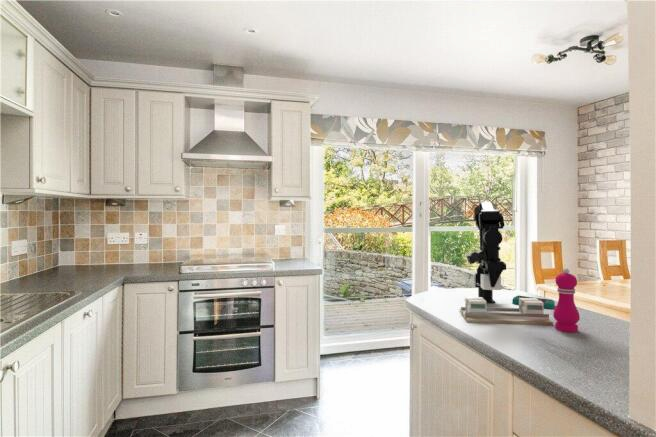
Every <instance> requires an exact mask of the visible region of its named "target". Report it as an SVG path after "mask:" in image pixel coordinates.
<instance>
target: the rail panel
mask: <svg viewBox="0 0 656 437" xmlns="http://www.w3.org/2000/svg"><path fill="white" fill-rule="evenodd" d="M537 298H538V297H533V298H519V304H518V307H487V304H488V303H486V300H484V299H483V298H482V297H478V296H465V300H464V301H465V306H460V308H459V313H460V314H461V316H462V317H463V319H464V320H465V321H466V322H467V323H481V324H482V323H483V324H486V323H487V324H488V323H491V324H515V325H516V324H517V325H518V324H520V325H521V324H523V325H524V324H526V325H554V321H553V320H551V319H550V314H548V313H544V311H545V310H544V309H545V308H544V303H543V302H542V301H540V300H538V299H537Z"/></svg>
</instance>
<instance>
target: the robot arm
mask: <svg viewBox="0 0 656 437" xmlns="http://www.w3.org/2000/svg"><path fill="white" fill-rule="evenodd" d="M473 221H475V226H476V227H477V229H478V231H479V250H475V251H473V252H469V253H467V254H465V257H466V260H467V262H468V264H469V265H473V264H475V263H477V264H478V267H477V268H476V273H475V272H474V287H475V288H478V289H477V291H478V294H477V297H482V298H483V299H484V300H486V304H488V303H489V304H490V303H492V304H493V303H496V301H495V300H494V298H493V294H494V292H493V291H494V290H483V289H482V288H481V274H489V279H490V284H491V287H495V285H496V283H497V281H498V279H499V277H500V276H502V275H501V274H502V273H503V272H504V271H507V264H506V263H505V262H504V261H503V260H501V258H500V251H501V246H500V245H501V243H502V242H503V235H502V233H501V232H500V231H499V230H502V229H504V227H505V220H504V216H503V214H502V213H501V212H500V210H499V209H496V208H495V207H494V206H493V202H492V201H480V202H478V205H477V206H475V207H474V209H473Z"/></svg>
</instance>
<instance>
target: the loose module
mask: <svg viewBox="0 0 656 437" xmlns="http://www.w3.org/2000/svg"><path fill="white" fill-rule="evenodd" d="M481 288H482V289H483V290H493V291H501V290H502V275H500V277H499V279H498V281H497V283H496V285H495V287H491V284H490V279H489V274H481Z"/></svg>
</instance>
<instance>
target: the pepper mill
mask: <svg viewBox="0 0 656 437" xmlns="http://www.w3.org/2000/svg"><path fill="white" fill-rule="evenodd" d="M554 282H555V284H556V286H557V287H556V289H557V290H556V292H557V293H558V301H557V303H556V305H555V307H554V308H553V310H554V311H553V318H554V320H555V321H556V322H555V323H554V327H555V329H556V331H560V332H563V333H564V332H565V333H577V332H579V326H578V324H577V323H578V322H579V321H580V320H581V319H580V318H581V317H580V312H579V310H578V309H577V306H576V304H575V296H574V295H575V294H576V286H578V280H577V277H576V276H575V275H574V274H572V273H570V270H569V269H568V268H563V270H562V273H559V274H558V275H557V276H555V281H554Z"/></svg>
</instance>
